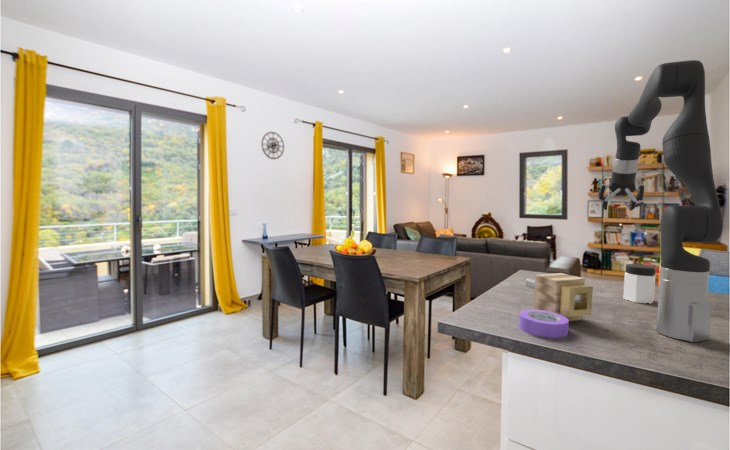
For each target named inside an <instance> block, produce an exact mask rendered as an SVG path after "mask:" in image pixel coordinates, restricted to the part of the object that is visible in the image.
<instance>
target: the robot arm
mask: <svg viewBox="0 0 730 450" xmlns="http://www.w3.org/2000/svg"><path fill="white" fill-rule="evenodd" d="M675 97H676V98H677V97H682V98H683V107H682V110H681V111H680V113H679V114H678V116H677V118H676V119H674V121H673V122H672V123H671V125H670V126H669V127H668V129H667V130H666V132H665V134H664V136H663V138H662V151H663V153H662V154H663V161H664V164H665V166H666V167H667V169H668V170H669V171H670V172H671V173H672V174H673V175H674V176H675V177H676V178H677V179H678V180H679V181H680V182H681V183H682V184H683V185H684V186H685V188H686V189H687V190H688V191H689V194H690V195H691V198H692V200H693V204H694V205H688V204H687V205H679V204H678V205H676V204H675V205H669V206H667V207H665V209H664V210H663V212H662V215H661V219H660V270H659V283H658V284H659V285H658V286H659V287H658V297H657V298H658V301H657V314H656V315H657V317H656V331H657V332H658V333H659V334H661V335H663V336H666V337H669V338H673V339H677V340H683V341H687V342H690V343H696V342H701V341H702V342H703V341H708V340H710V329H711V319H712V318H711V316H712V303H713V302H711V301H709V300H708V296H709V295H708V293H709V281H710V280H709V279H710V268H711V262H710V260H709V259H708V258H706V257H703V256H701V255H697V254H693V253H691V252H689V251H687V250H686V249H685V248H684V246H683V243H701V244H702V243H706V244H710V243H716V242H718V240H720V238H721V237H722V234H723V231H724V230H723V228H724V221H723V220H724V219H723V214H722V210H721V209H722V208H721V204H720V201H719V196H718V193H717V188H716V184H715V179H714V174H713V173H714V171H713V164H712V151H711V150H712V149H711V141H710V135H709V129H708V123H707V115H706V113H707V112H706V73H705V67H704V64H703V63H702V62H701V61H700V60H697V59H695V60H694V59H693V60H681V61H672V62H671V61H670V62H665V63H662V64H658V65H657V66H656V67H655V68H654V69H653V71H652V72H651V74H650V76H649V77H648V79H647V82H646V83H645V86H644V88H643V91H642V93H641V95H640V98H639V99H638V102H637V103H636V104H635V106H634V107H633V108H632V110H631V111H629V114H628V115H627V116H621V117H619V118H618V119H617V120H616V121H615V123H614V132H615V138H616V153H615V159H614V161H613V166H612V171H611V172H612V173H611V178H610V183H609V184H604V183H601V184H600V187H599V190H598V195H597V198H598V200H599V201H602V204H601V208H602V209H603V210H604V211H607V210H608V204H609V200H610V199H611V198H613V197H614V196H616V197H619V196H621V197H626V196H629V198H630V199H631V200H630V201H629V205H628V206H629V207H628V210H629V211H633V210H635V208H636V204H637V201H643V200H644V191H645V185H644V184H642V183H639V184H636V179H637V178H636V177H637V172H638V166H639V158H640V151H641V143H639V142H637V141H630V140H627V137H635V136H636V137H637V136H644V135H646V134H648V133H649V132H650V130H651V127H652V121H653V120H654V119H655V118H656V117H657V116H658V115H659V114H660V112H661V109H662V108H663V107H662V105H663V104H662V101H661V99H660V98H675ZM608 189H609V191H608V192H607V193H606V194H605V191H607V190H608ZM635 189H636V191H637V195H636V196H635V195H634V194H633V193H632V192H633V191H634V190H635Z"/></svg>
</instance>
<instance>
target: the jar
mask: <svg viewBox="0 0 730 450" xmlns="http://www.w3.org/2000/svg"><path fill="white" fill-rule="evenodd" d="M656 273H657V269H656V267H655V266H652V265H647V264H638V263H627V264H626V265H625V272H624V280H623V298H622V299H623V300H625V301H628V300H629V302H632V303H635V302H636V304H646V303H649V304H648V305H651V304H653V303H654V300H655V289H656Z"/></svg>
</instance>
